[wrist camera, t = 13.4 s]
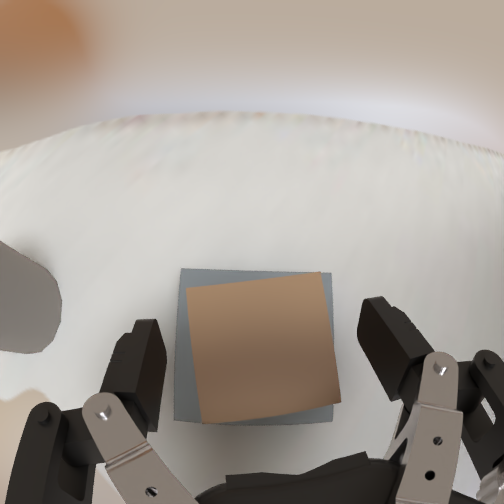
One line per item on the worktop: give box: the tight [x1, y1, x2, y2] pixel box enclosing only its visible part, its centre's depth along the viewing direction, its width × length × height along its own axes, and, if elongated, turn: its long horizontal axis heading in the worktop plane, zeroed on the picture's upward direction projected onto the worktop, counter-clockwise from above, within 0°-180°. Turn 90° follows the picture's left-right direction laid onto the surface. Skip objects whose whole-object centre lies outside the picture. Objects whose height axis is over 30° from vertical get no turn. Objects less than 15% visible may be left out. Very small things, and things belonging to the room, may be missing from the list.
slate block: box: [174, 268, 334, 425], centre depth 19 cm, size 10×10×4 cm
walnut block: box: [186, 272, 341, 424], centre depth 13 cm, size 4×4×9 cm
